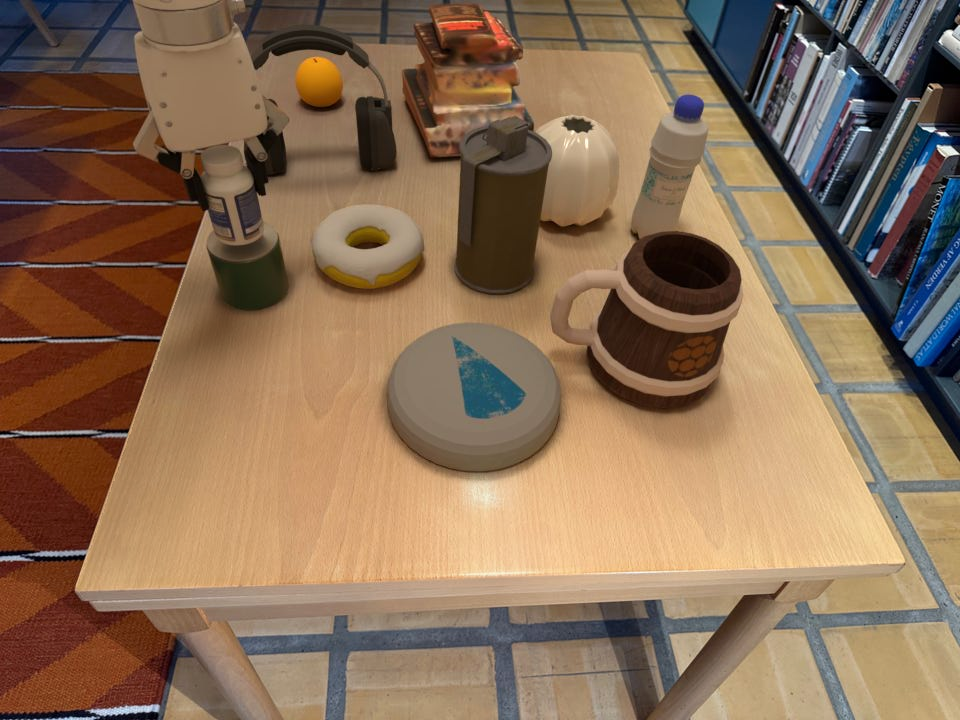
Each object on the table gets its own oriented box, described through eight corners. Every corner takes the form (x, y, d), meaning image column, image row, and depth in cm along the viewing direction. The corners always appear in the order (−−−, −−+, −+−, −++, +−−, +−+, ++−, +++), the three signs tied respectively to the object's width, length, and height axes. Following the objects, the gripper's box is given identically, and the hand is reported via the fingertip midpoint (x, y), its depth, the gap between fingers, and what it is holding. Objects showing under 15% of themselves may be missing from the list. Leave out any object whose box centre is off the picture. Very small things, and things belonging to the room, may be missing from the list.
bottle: (631, 247, 90) (672, 109, 75) (622, 218, 94) (659, 83, 80) (678, 248, 90) (728, 111, 75) (667, 220, 95) (712, 85, 80)
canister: (495, 234, 90) (508, 93, 75) (549, 272, 85) (575, 129, 70) (435, 265, 84) (437, 120, 70) (489, 307, 80) (504, 161, 65)
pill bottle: (261, 215, 76) (245, 138, 68) (268, 242, 72) (250, 164, 65) (213, 222, 74) (190, 144, 67) (217, 250, 71) (194, 171, 64)
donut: (434, 238, 88) (435, 207, 85) (408, 304, 79) (407, 272, 75) (336, 221, 89) (332, 190, 86) (299, 285, 80) (293, 253, 77)
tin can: (213, 309, 76) (197, 259, 71) (229, 266, 82) (215, 217, 76) (282, 311, 77) (271, 261, 71) (293, 268, 82) (284, 219, 77)
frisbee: (507, 320, 78) (511, 289, 74) (592, 434, 67) (601, 404, 64) (362, 366, 72) (359, 334, 68) (430, 499, 61) (430, 470, 57)
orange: (346, 112, 111) (341, 68, 105) (298, 114, 109) (291, 69, 104) (343, 91, 116) (339, 48, 110) (298, 92, 114) (291, 49, 109)
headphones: (394, 150, 103) (389, 17, 88) (398, 172, 99) (393, 36, 84) (249, 156, 99) (219, 18, 85) (247, 178, 95) (214, 37, 81)
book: (535, 157, 104) (550, 48, 92) (426, 166, 101) (426, 54, 88) (497, 92, 119) (506, -9, 106) (401, 98, 115) (398, -7, 103)
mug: (698, 320, 80) (741, 220, 69) (728, 417, 70) (784, 317, 59) (539, 312, 80) (557, 209, 69) (545, 408, 69) (568, 305, 58)
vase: (496, 205, 95) (504, 118, 85) (560, 174, 101) (575, 90, 92) (565, 251, 88) (583, 163, 78) (629, 215, 95) (652, 129, 85)
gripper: (266, -9, 62) (294, 162, 75) (70, 16, 55) (139, 199, 68) (295, 19, 58) (319, 194, 71) (86, 50, 51) (156, 237, 64)
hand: (230, 195), depth 70 cm, fingers closed on pill bottle, 5 cm apart
